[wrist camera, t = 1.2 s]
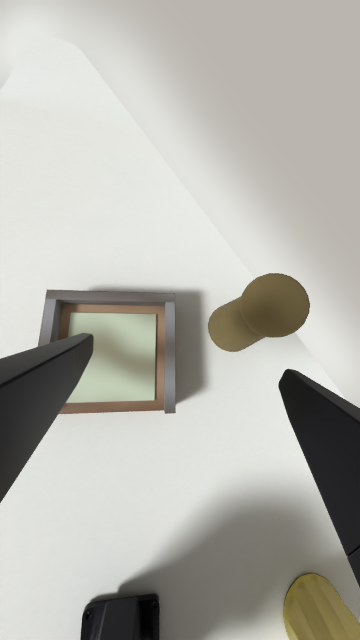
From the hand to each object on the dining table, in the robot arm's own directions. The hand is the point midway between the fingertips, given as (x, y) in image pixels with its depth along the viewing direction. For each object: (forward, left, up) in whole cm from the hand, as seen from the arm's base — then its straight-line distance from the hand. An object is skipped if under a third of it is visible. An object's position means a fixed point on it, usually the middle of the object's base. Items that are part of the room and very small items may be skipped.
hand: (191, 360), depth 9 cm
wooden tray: (+1, +6, -14) cm, 16 cm away
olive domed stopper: (+4, -8, -15) cm, 17 cm away
